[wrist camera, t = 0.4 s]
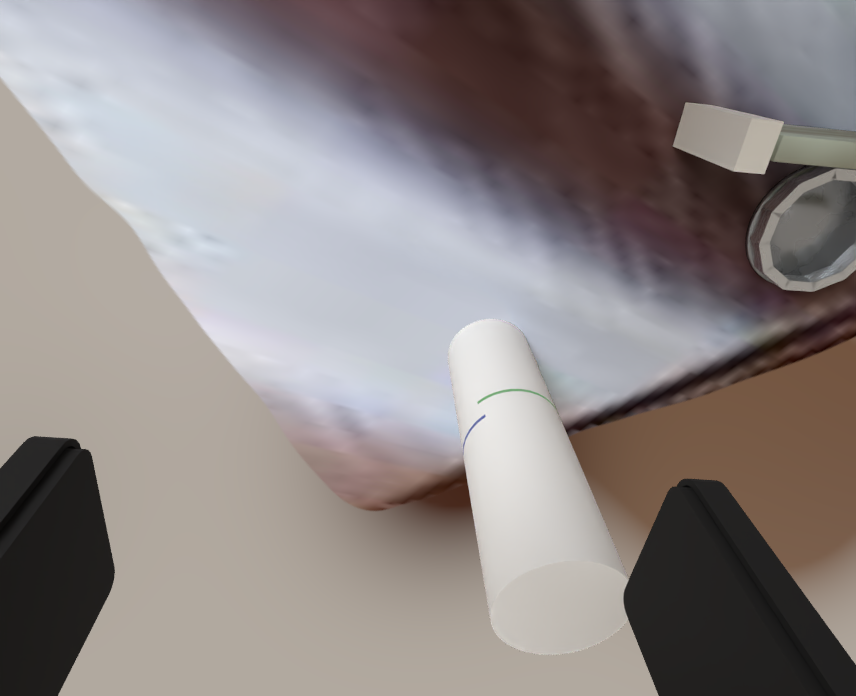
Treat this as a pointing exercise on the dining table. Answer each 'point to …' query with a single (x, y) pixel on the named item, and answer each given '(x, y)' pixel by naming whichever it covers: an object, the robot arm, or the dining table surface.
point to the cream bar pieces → (728, 137)
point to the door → (815, 147)
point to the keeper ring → (806, 229)
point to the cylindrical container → (531, 501)
